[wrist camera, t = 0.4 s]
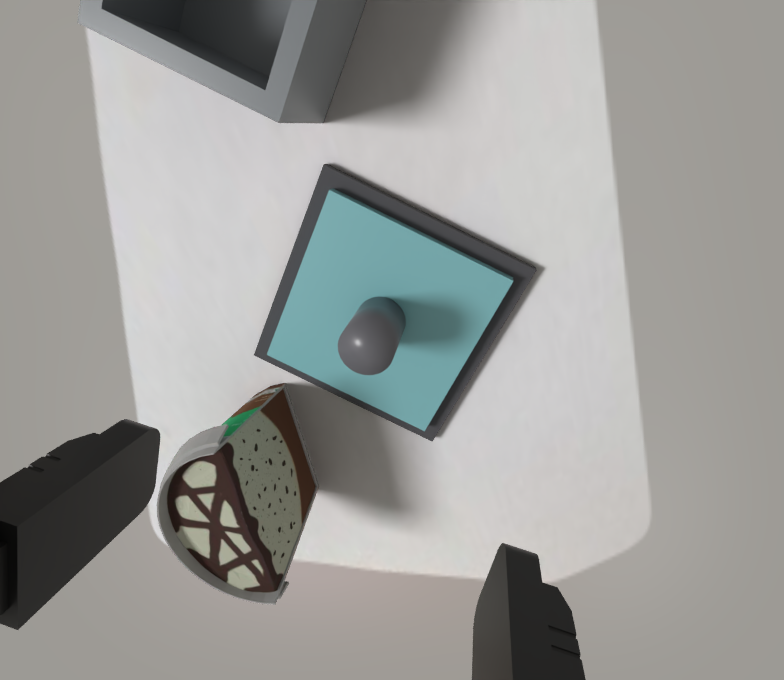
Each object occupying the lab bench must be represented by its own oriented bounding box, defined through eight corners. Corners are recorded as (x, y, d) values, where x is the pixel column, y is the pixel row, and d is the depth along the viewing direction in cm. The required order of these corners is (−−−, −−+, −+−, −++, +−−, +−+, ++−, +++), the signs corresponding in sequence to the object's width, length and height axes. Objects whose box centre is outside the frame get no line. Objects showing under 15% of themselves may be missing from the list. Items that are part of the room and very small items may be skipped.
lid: (332, 188, 30) (304, 200, 25) (512, 277, 30) (518, 306, 25) (271, 349, 35) (237, 385, 30) (425, 425, 35) (416, 472, 31)
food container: (203, 374, 38) (114, 454, 29) (278, 364, 36) (209, 444, 27) (255, 506, 42) (191, 612, 33) (323, 501, 40) (277, 610, 31)
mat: (326, 163, 30) (323, 164, 30) (535, 267, 30) (536, 270, 30) (257, 351, 36) (253, 355, 35) (433, 436, 36) (432, 441, 36)
